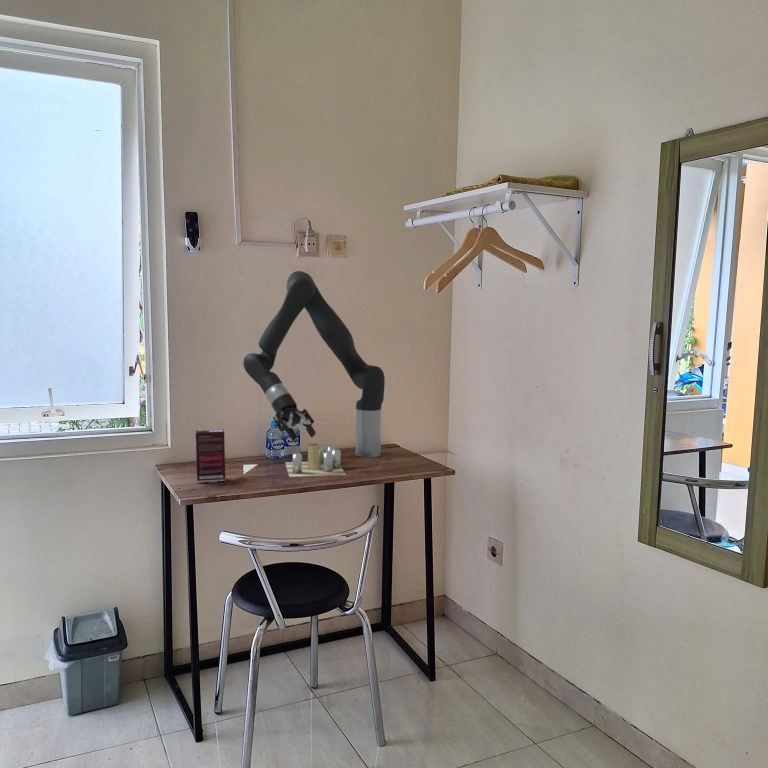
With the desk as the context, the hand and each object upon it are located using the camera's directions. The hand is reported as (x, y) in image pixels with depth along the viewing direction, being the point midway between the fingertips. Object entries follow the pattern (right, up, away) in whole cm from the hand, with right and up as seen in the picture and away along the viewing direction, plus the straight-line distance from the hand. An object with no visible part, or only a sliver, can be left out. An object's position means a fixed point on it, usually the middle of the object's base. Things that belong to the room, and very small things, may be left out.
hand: (304, 437), depth 232 cm
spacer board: (+3, -11, -2) cm, 12 cm away
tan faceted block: (+3, -10, -2) cm, 11 cm away
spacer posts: (+4, -10, 0) cm, 11 cm away
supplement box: (-27, -12, -16) cm, 34 cm away
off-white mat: (-15, -11, -3) cm, 19 cm away
